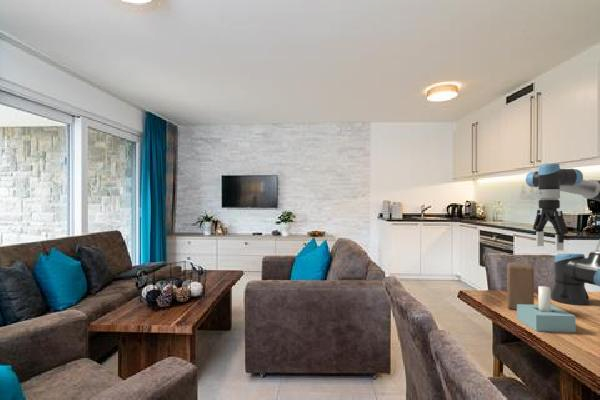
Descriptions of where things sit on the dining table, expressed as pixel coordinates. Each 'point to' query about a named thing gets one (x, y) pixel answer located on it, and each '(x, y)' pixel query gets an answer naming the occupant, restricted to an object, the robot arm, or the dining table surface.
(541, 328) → the socket
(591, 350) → the dining table surface
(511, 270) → the wooden block
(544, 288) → the peg
